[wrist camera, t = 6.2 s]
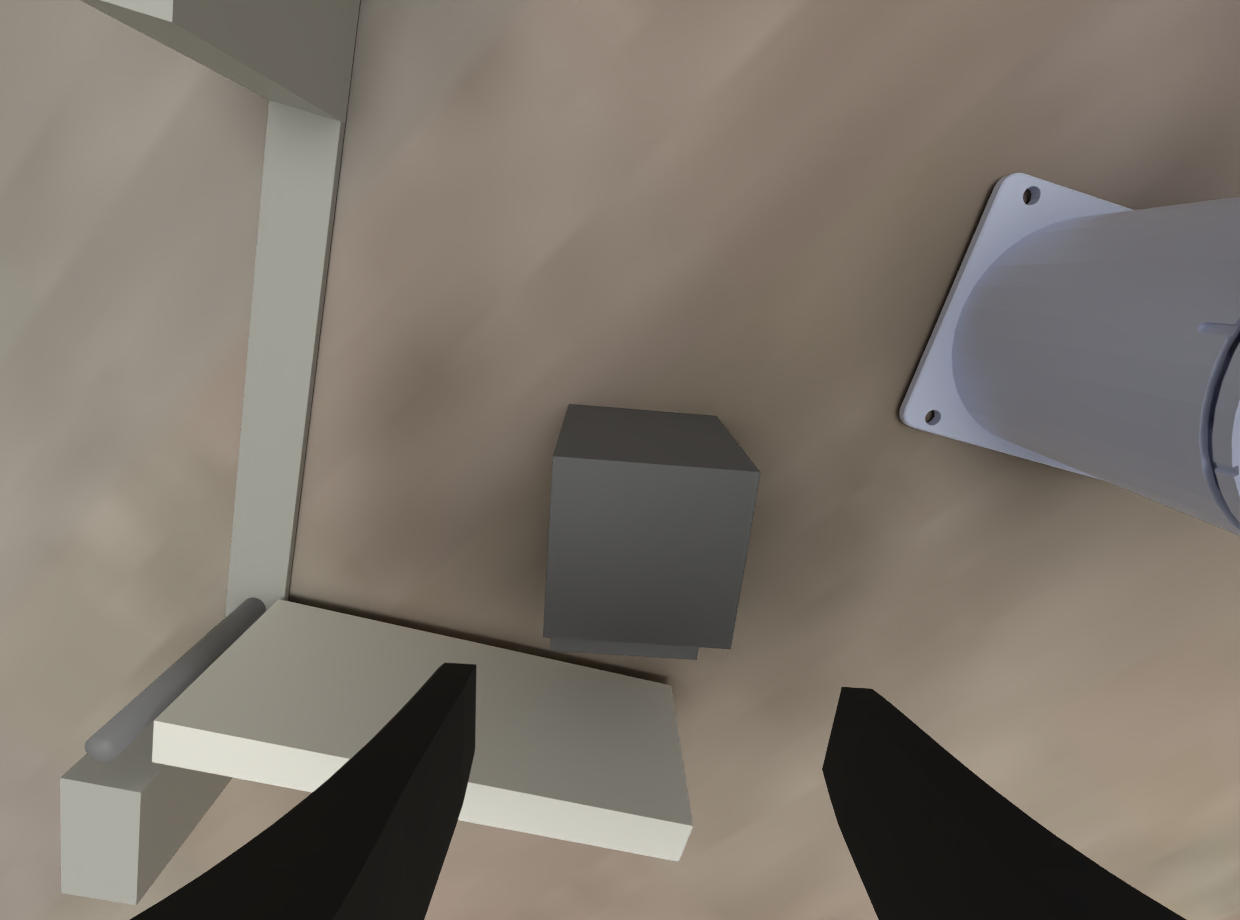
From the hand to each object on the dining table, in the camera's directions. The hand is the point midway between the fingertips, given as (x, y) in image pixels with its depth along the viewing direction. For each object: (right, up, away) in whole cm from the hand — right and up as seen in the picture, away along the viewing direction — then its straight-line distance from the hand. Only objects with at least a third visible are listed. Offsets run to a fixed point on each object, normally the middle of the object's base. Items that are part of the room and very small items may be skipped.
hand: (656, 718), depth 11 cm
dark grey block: (0, +3, +9) cm, 10 cm away
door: (-6, -3, +11) cm, 13 cm away
